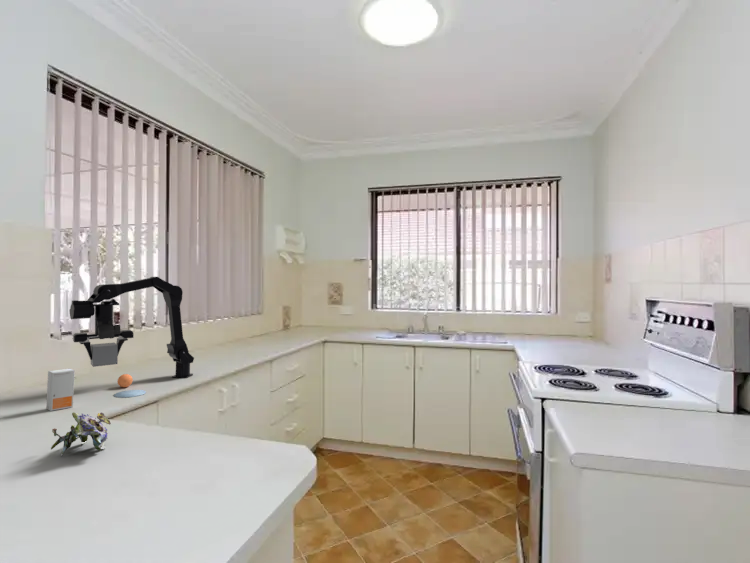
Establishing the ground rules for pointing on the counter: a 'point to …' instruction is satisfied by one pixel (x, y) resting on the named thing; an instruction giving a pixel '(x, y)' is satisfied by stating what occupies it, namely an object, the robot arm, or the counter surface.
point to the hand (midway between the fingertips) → (104, 358)
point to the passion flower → (85, 431)
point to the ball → (125, 380)
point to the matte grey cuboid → (104, 354)
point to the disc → (129, 393)
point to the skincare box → (60, 389)
